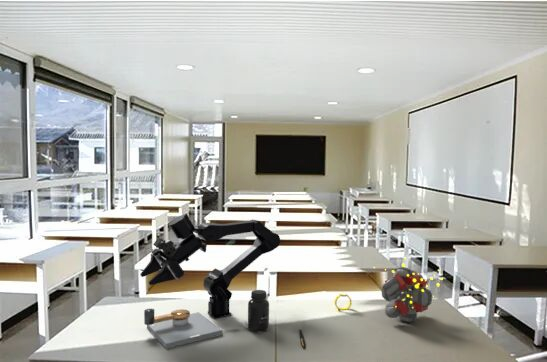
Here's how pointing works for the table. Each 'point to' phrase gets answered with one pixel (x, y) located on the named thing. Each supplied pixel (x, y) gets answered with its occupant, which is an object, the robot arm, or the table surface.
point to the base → (184, 330)
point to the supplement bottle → (258, 311)
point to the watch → (343, 296)
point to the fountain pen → (302, 339)
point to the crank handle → (164, 316)
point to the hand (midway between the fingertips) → (145, 279)
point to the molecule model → (406, 294)
